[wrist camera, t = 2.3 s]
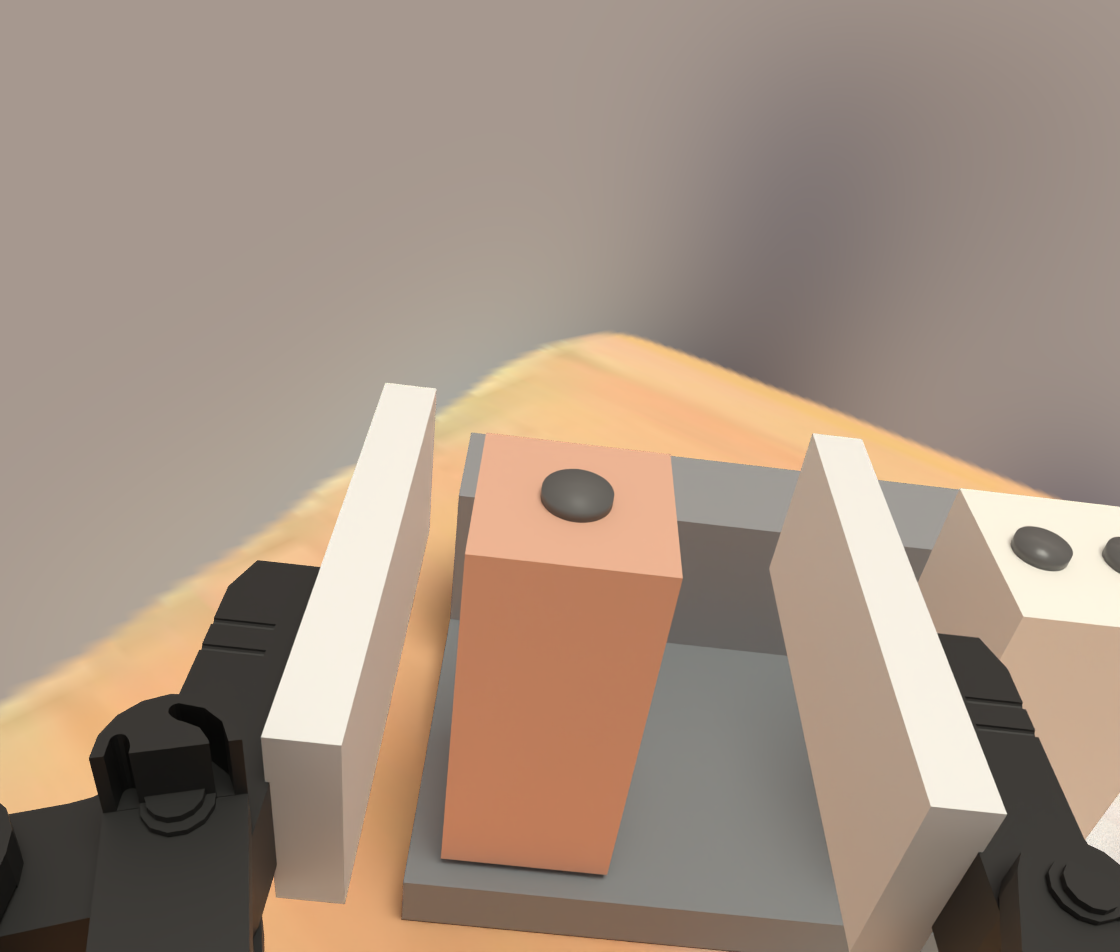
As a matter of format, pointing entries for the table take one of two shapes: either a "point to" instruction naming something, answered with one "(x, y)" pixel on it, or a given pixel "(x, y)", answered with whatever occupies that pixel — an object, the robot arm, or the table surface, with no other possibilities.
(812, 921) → the grey l-shaped bracket
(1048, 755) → the white block with dots
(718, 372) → the table surface
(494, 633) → the button terracotta
